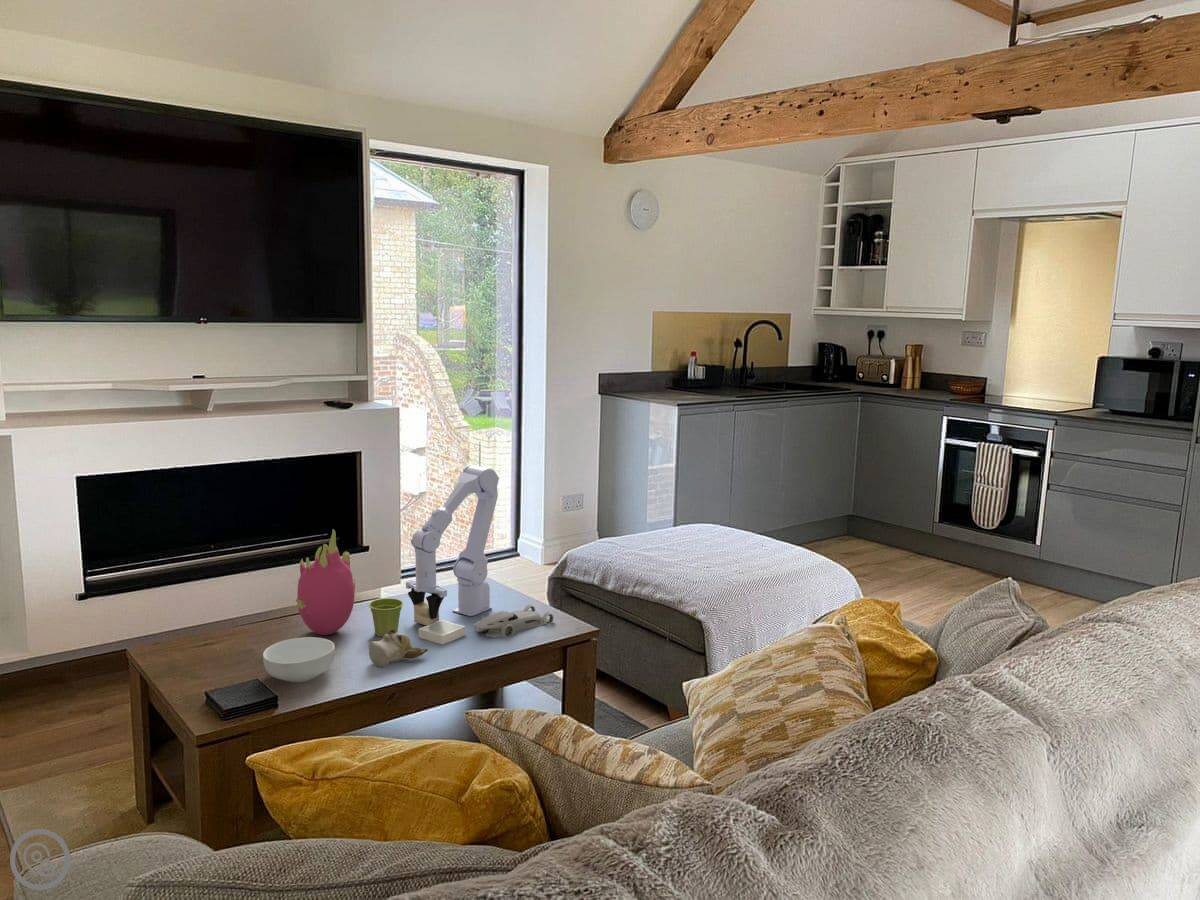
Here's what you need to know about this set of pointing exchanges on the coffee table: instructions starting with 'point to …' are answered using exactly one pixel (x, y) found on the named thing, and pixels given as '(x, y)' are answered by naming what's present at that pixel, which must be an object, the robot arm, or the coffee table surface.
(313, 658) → the cereal bowl
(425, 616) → the maple cube
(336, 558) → the pink dragon fruit
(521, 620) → the car model
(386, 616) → the plant pot
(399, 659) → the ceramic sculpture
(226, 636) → the coffee table surface
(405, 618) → the coffee table surface
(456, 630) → the cream square tray
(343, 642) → the coffee table surface
